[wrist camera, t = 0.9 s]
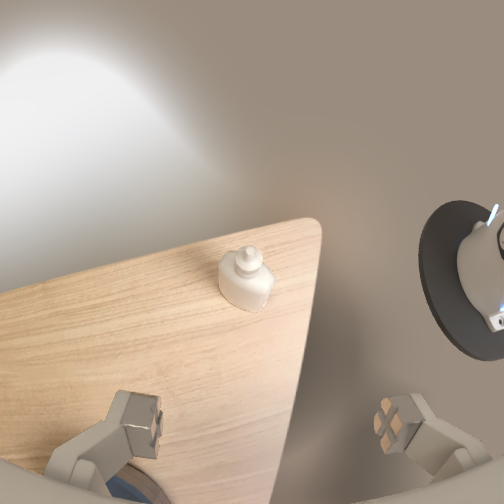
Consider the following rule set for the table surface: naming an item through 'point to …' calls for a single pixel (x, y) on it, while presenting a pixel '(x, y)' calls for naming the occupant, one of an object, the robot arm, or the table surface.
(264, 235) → the table surface
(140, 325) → the table surface
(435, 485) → the robot arm
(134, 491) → the bowl
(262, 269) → the eye dropper bottle
